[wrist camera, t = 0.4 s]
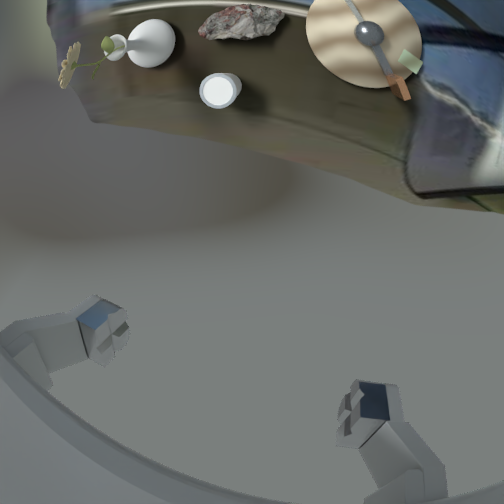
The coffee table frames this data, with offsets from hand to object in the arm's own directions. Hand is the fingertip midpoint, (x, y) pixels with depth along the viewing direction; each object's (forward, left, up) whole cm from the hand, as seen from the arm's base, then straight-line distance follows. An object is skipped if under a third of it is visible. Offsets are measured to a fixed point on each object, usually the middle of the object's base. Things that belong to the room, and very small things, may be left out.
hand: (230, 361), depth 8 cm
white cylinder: (-8, -11, -51) cm, 53 cm away
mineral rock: (-18, -1, -51) cm, 54 cm away
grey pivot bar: (-4, +18, -49) cm, 52 cm away
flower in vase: (-26, -19, -51) cm, 60 cm away
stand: (-6, +18, -51) cm, 54 cm away
